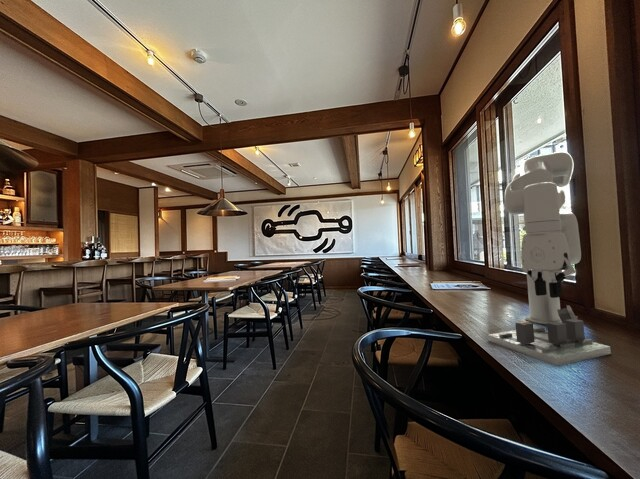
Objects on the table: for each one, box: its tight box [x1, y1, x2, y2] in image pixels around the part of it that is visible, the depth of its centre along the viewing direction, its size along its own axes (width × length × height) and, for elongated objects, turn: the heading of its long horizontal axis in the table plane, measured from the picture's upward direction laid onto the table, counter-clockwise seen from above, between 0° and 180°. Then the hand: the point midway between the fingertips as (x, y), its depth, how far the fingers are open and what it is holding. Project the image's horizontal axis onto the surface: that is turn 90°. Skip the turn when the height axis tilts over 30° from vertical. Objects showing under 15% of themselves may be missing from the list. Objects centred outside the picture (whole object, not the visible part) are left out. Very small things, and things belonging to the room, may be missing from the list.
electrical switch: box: [557, 304, 579, 323], centre depth 92 cm, size 9×5×9 cm, turn 141°
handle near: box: [565, 319, 586, 341], centre depth 81 cm, size 4×3×6 cm
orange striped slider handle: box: [515, 320, 535, 344], centre depth 82 cm, size 4×3×6 cm
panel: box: [487, 326, 612, 367], centre depth 83 cm, size 20×21×3 cm
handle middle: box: [546, 322, 567, 345], centre depth 80 cm, size 4×3×6 cm
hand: (548, 295), depth 75 cm, fingers open, 3 cm apart
